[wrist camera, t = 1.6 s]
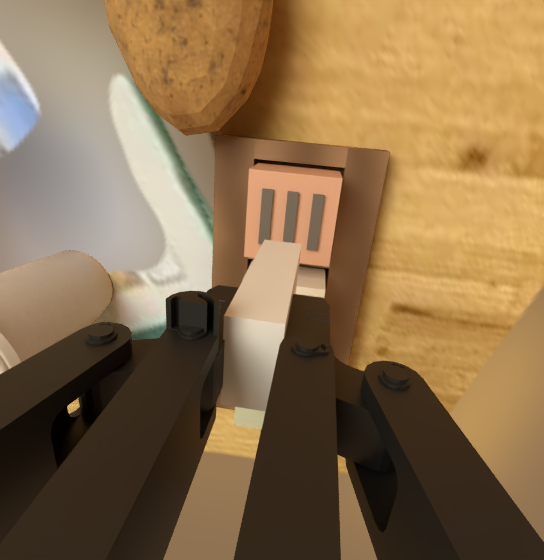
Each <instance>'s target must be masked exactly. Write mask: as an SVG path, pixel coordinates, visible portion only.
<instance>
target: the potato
mask: <svg viewBox="0 0 544 560" xmlns="http://www.w3.org/2000/svg"><path fill="white" fill-rule="evenodd" d="M105 5H106V10H107V16H108V21H109V27H110V29H111V32H112V34H113V36H114V38H115V40H116V42H117V45H118V47H119V49H120V51H121V53H122V55H123V57H124V60H125V62H126V64H127V66H128V68H129V70H130V72H131V74H132V77H133V79H134V81H135V83H136V85H137V87H138V89H139V90H140V92H141V93H142V95H143V96H144V98H145V99H146V101H147V102H148V103H149V105H150V106H151V108H152V109H153V111H154V112H156V113H157V114H158V115H160V116H161V117H162V118H164V119H165V120H166V121H167V122H169V123H170V124H171V125H173V126H174V127H175V128H177V129H178V130H179V131H181V132H182V133H183V134H184V135H193V134H200V133H207V132H214V131H219V130H220V129H221V127H222V126H223V125H224V124H225V123H226V122H227V121H228V120H229V119H230V118H231V117H232V116H233V115H234V114H235V113H236V112H237V111H238V110H239V109H240V108H241V107H242V105H243V104H244V103H245V102H246V101H247V100H248V98H249V96H250V94H251V92H252V90H253V88H254V86H255V84H256V81H257V79H258V77H259V75H260V73H261V70H262V65H263V61H264V57H265V53H266V48H267V44H268V38H269V31H270V24H271V17H272V10H273V0H105Z"/></svg>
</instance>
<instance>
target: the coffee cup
mask: <svg viewBox="0 0 544 560" xmlns="http://www.w3.org/2000/svg"><path fill="white" fill-rule="evenodd" d="M112 294H113V288H112V283H111V280H110V277H109V275H108V273H107V272H106V270H105V269H104V268H103V266H102V265H101V264H100V263H99V262H98V261H97V260H95V259H94V258H93V257H91V256H89V255H87V254H85V253H82V252H78V251H71V250H69V251H63V252H60V253H57V254H54V255H51V256H48V257H45V258H42V259H39V260H36V261H33V262H31V263H28V264H25V265H22V266H19V267H16V268H13V269H10V270H7V271H4V272H2V273H0V374H1V373H3V372H5V371H7V370H9V369H10V368H12V367H14V366H16V365H17V364H19V363H21V362H23V361H25V360H26V359H28V358H30V357H32V356H33V355H35V354H37V353H39V352H41V351H42V350H44V349H46V348H48V347H49V346H51V345H53V344H55V343H57V342H58V341H60V340H62V339H64V338H65V337H67V336H69V335H71V334H73V333H74V332H76V331H78V330H80V329H82V328H84V327H87V326H89V325H91V324H92V323H93V322H94V321H95V320H96V319H97V318H98V317H99V316H100V315H101V313H102V312H103V311H104V310H105V309H106V308H107V307H108V305H109V304H110V302H111V299H112Z"/></svg>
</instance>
